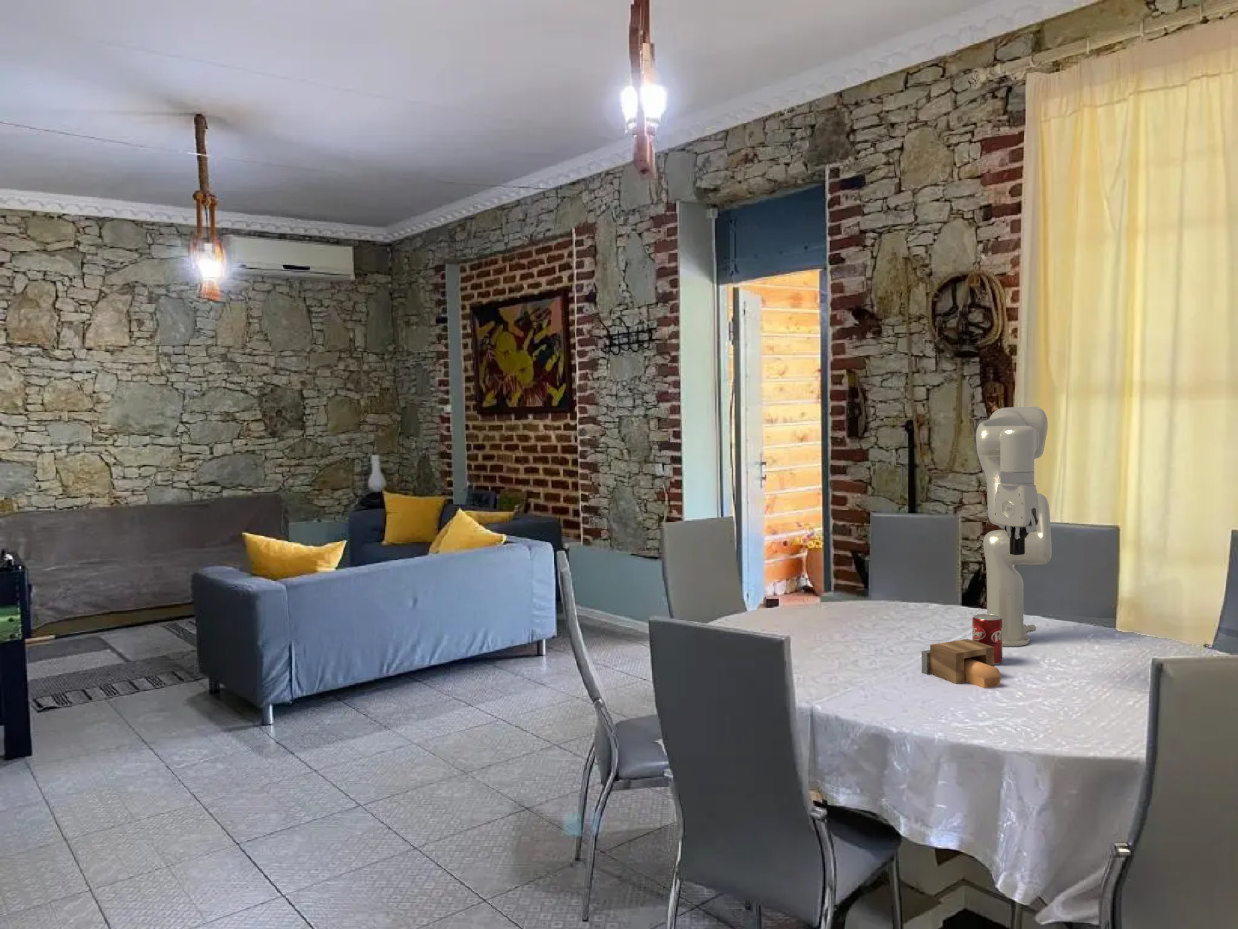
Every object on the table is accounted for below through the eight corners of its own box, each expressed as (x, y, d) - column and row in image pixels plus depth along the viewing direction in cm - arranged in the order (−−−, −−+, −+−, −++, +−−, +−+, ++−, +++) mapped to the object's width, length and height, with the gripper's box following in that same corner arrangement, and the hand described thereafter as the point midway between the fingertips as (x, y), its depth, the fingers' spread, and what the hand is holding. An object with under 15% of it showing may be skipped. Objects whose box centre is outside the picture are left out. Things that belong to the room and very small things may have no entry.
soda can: (1001, 659, 241) (1001, 614, 240) (1003, 666, 234) (1003, 620, 233) (972, 657, 243) (971, 612, 242) (973, 664, 236) (972, 619, 236)
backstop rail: (965, 665, 237) (964, 644, 236) (970, 667, 235) (970, 646, 234) (921, 672, 231) (921, 651, 231) (927, 674, 229) (927, 653, 229)
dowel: (948, 675, 229) (948, 656, 228) (964, 673, 231) (964, 653, 230) (984, 689, 218) (984, 668, 217) (1000, 686, 219) (1000, 665, 219)
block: (967, 667, 234) (967, 638, 234) (994, 676, 226) (994, 647, 225) (930, 674, 230) (930, 644, 229) (955, 683, 222) (955, 653, 221)
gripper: (981, 477, 225) (982, 551, 226) (1029, 482, 211) (1029, 560, 212) (1005, 476, 228) (1005, 548, 229) (1054, 480, 214) (1054, 557, 215)
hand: (1017, 554), depth 221 cm, fingers closed
